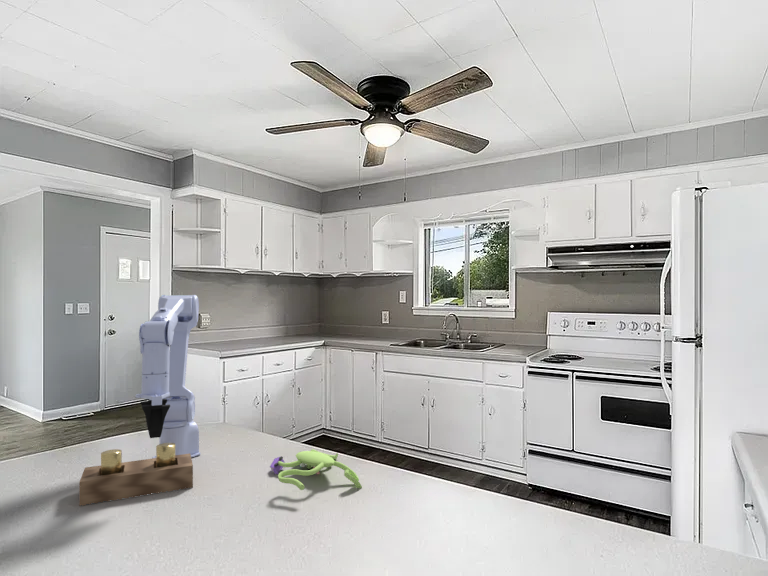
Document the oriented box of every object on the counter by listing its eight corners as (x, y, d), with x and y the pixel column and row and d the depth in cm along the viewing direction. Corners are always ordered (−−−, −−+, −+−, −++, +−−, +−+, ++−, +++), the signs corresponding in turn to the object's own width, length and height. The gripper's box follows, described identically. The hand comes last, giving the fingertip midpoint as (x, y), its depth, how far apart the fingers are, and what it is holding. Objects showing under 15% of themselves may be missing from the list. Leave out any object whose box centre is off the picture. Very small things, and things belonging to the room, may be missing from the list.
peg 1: (122, 470, 111) (122, 448, 111) (121, 476, 107) (121, 453, 107) (101, 473, 109) (101, 450, 109) (100, 479, 105) (100, 456, 105)
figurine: (282, 508, 101) (282, 481, 101) (264, 465, 126) (264, 443, 126) (366, 494, 108) (366, 469, 108) (333, 456, 133) (333, 435, 133)
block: (190, 473, 119) (190, 453, 119) (192, 487, 111) (192, 465, 111) (85, 489, 110) (85, 467, 110) (79, 505, 102) (79, 481, 102)
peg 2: (174, 463, 115) (174, 441, 115) (175, 468, 112) (175, 446, 112) (156, 465, 114) (156, 444, 114) (156, 471, 110) (156, 449, 110)
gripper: (135, 372, 116) (133, 431, 115) (136, 376, 104) (135, 442, 102) (167, 371, 120) (166, 428, 118) (172, 374, 107) (171, 438, 106)
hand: (154, 434), depth 110 cm, fingers open, 7 cm apart
